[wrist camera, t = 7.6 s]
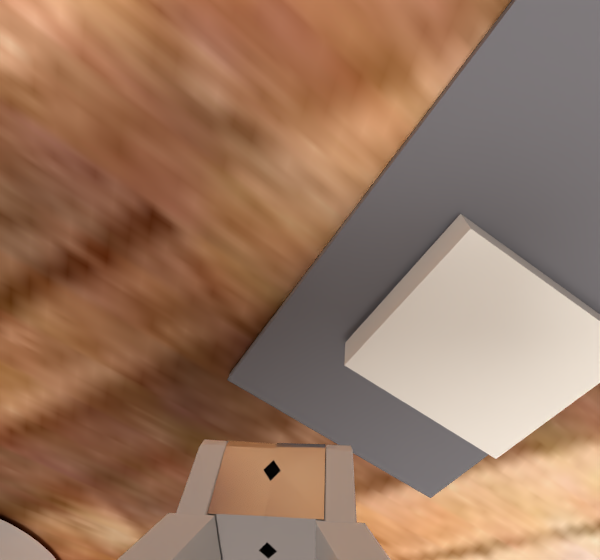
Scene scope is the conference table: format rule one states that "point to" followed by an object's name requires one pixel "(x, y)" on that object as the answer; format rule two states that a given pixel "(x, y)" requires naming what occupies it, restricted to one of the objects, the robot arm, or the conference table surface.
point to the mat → (438, 217)
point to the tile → (479, 341)
